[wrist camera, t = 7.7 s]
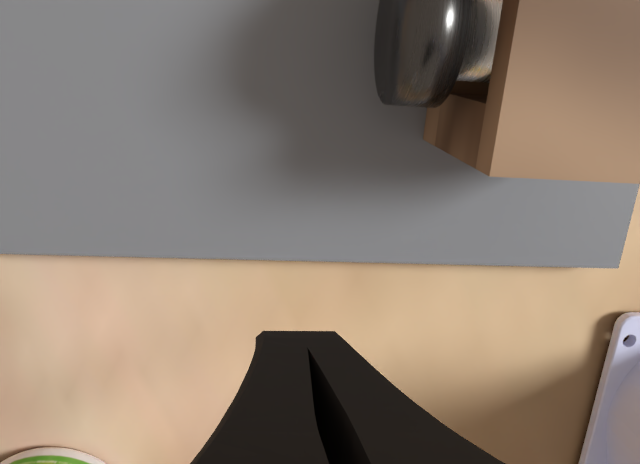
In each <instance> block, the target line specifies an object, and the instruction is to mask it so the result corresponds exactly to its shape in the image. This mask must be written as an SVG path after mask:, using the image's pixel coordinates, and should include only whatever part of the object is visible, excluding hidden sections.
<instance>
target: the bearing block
mask: <svg viewBox="0 0 640 464" xmlns="http://www.w3.org/2000/svg"><path fill="white" fill-rule="evenodd" d="M423 140H425V141H427V142H428V143H430V144H432V145H434V146H435V147H437V148H439V149H441V150H443V151H444V152H446V153H448V154H450V155H452V156H453V157H455V158H457V159H459V160H461V161H462V162H464V163H466V164H468V165H470V166H471V167H473V168H475V169H477V170H479V171H480V172H482V173H484V174H486V175H488V176H489V177H509V178H530V179H550V180H571V181H592V182H612V183H633V184H640V0H503V3H502V9H501V15H500V21H499V28H498V34H497V40H496V46H495V52H494V58H493V64H492V71H491V77H490V83H484V82H470V81H457V80H456V82H455V84H454V86H453V88H452V91H451V92H450V94H449V96H448V97H447V99H446V100H445V101H444V102H443V103H442V104H441V105H440V106H438V107H436V108H427V112H426V120H425V127H424V135H423Z"/></svg>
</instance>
